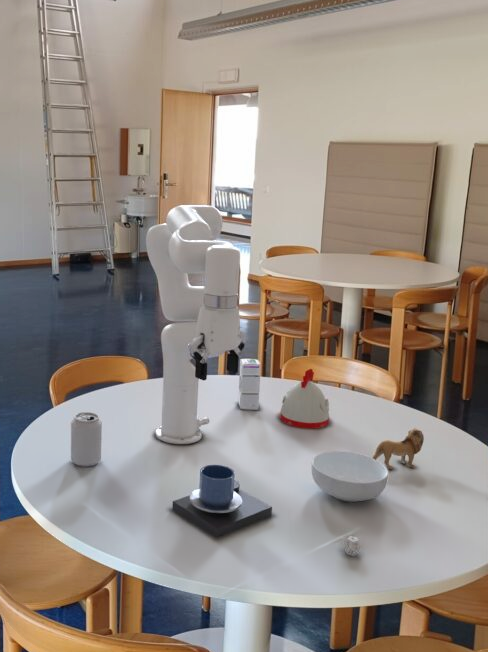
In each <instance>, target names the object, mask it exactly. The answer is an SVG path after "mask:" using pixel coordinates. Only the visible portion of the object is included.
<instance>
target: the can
mask: <svg viewBox="0 0 488 652" xmlns="http://www.w3.org/2000/svg"><path fill="white" fill-rule="evenodd" d="M102 430H103V421H102V420H101V419H100V415H99V414H97V413H95V412H91V411H90V412H89V411H84V412H78V413H75V414H74V416H73V419H72V420H71V422H70V460H71V462H73V463H74V465H76V466H78V467H93V466H96V465H97V464H98V463H99V462H101V460H102V440H103V439H102V433H103V431H102Z"/></svg>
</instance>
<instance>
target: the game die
mask: <svg viewBox="0 0 488 652" xmlns="http://www.w3.org/2000/svg"><path fill="white" fill-rule="evenodd" d="M342 546H343V548H344V550H345V553H346V555H348V556H352V557H355V556H357V554H358V553H359V552H360V551H361V550H362V546H361V544H360V541H359V539H358V537H357V536H353V535H349V536H348V537H347V538H346V539H344V541H343V543H342Z"/></svg>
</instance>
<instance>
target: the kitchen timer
mask: <svg viewBox="0 0 488 652" xmlns="http://www.w3.org/2000/svg"><path fill="white" fill-rule="evenodd" d="M314 374H315V372H314V369H313V368H309V369H307V370H305V372H304V375H303V376H302V380H301V381H298V382H296V383H295V384H294V385H292V387H291V388H290V389H289V390H288V391H287V392H286V394H285V395H283V399H282V402H281V403H282V404H281V408H280V412H279V414H280V415H279V418H280V420H281V421H282V422H283V423H284V424H287V425H289V426H292V427H296V428H301V429H321V428H324V427H326V426H328V425H329V421H330V406H329V402H330V401H329V398H326V397H325V395H324V393H323V391H322V389H321V388H320V387H319V386H318V385H317V384H316V383H315V382H314V381H313V380H314V376H315V375H314Z"/></svg>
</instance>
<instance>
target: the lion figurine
mask: <svg viewBox="0 0 488 652" xmlns="http://www.w3.org/2000/svg"><path fill="white" fill-rule="evenodd" d="M424 440H425V437H424V433H423V431H422V430H420V429H417V428H413V429H410V430H408V433H407V435H406V436H405V438H404V439H403V440H401V441H392V440H383V441H381V442H380V443H379V444H378V446H377V447H376V450H375V452H374V455H373V456H372V458H373V459H375V460H378V458H379V457H381V456H382V455H383V456H384V461H383V463H384V464H385V465H384V466H385V467H386V468H387V470H393V469H394V467H393V466H392V465H390V460H391V458H392V456H396V457H401V458H400V463H401V464H406V463H407V466H408V467H409V468H412V469H413V468H414V467H415V465H414V464H413V461H414V459H415V455H416V454H418V453H419V452H421V449H422V447H423V445H424ZM406 456H407V457H408V462H407V461H406Z"/></svg>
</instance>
